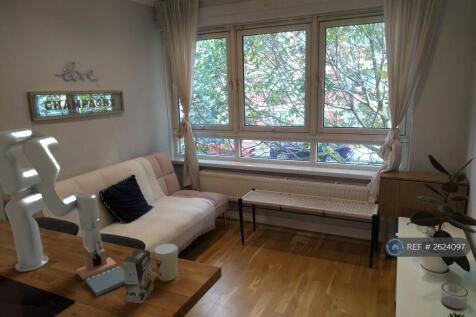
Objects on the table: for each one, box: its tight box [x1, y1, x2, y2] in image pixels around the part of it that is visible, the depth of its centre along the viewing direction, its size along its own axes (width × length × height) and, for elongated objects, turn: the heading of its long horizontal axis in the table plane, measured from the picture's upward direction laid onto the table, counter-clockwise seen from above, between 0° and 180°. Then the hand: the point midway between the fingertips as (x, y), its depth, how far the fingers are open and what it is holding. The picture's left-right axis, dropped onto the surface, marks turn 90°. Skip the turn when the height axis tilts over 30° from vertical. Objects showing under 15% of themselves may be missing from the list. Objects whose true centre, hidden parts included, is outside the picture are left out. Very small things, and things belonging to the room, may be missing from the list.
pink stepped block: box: [76, 248, 118, 281], centre depth 139 cm, size 7×14×8 cm, turn 133°
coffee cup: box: [153, 242, 179, 282], centre depth 132 cm, size 9×9×12 cm
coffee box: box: [122, 249, 154, 304], centre depth 120 cm, size 9×6×16 cm
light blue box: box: [84, 265, 125, 297], centre depth 130 cm, size 12×14×2 cm
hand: (96, 263), depth 139 cm, fingers closed on pink stepped block, 3 cm apart
